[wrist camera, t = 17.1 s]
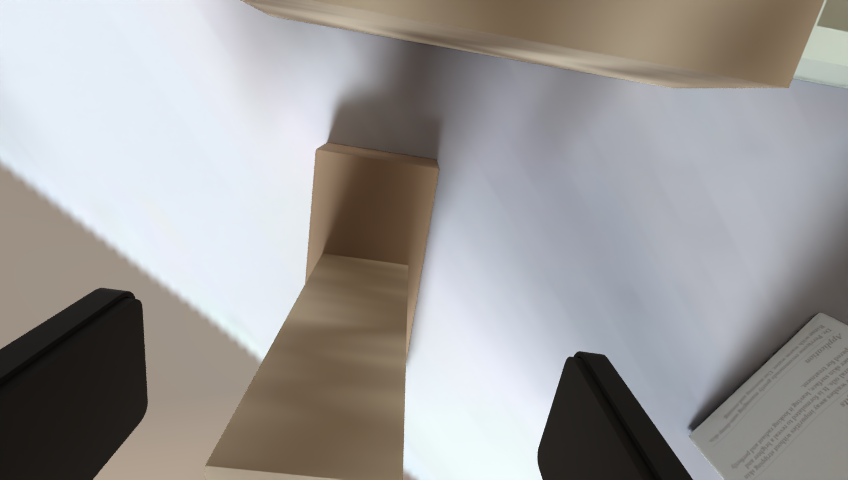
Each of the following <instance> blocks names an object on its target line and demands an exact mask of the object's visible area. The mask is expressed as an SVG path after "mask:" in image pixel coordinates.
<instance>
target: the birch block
mask: <svg viewBox="0 0 848 480" xmlns="http://www.w3.org/2000/svg"><path fill="white" fill-rule="evenodd" d="M241 1H243V2H245V3H247V4H249V5H251V6H253V7H255V8H256V9H258V10H260V11H262V12H264V13H266V14H268V15H270V16H273V17H279V18H284V19H290V20H296V21H301V22H307V23H312V24H318V25H323V26H329V27H335V28H340V29H346V30H351V31H357V32H362V33H368V34H374V35H379V36H385V37H390V38H396V39H401V40H407V41H413V42H418V43H424V44H429V45H435V46H441V47H446V48H452V49H457V50H463V51H468V52H474V53H480V54H485V55H491V56H496V57H502V58H507V59H513V60H519V61H524V62H530V63H535V64H541V65H546V66H552V67H558V68H563V69H569V70H574V71H580V72H585V73H591V74H597V75H602V76H608V77H613V78H619V79H624V80H630V81H636V82H641V83H647V84H652V85H658V86H663V87H669V88H789V86H790V83H791V81H792V78H793V76H794V74H795V71H796V69H797V66H798V64H799V61H800V59H801V56H802V54H803V51H804V49H805V47H806V44H807V42H808V39H809V37H810V34H811V32H812V29H813V27H814V24H815V22H816V20H817V17H818V15H819V12H820V10H821V7H822V5H823V2H824V0H241Z"/></svg>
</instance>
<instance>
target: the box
mask: <svg viewBox="0 0 848 480" xmlns="http://www.w3.org/2000/svg"><path fill="white" fill-rule="evenodd" d="M793 79H799V80H804V81H810V82H815V83H820V84H826V85H831V86H837V87H842V88H847V89H848V0H824V2H823V5H822V7H821V10H820V12H819V15H818V17H817V20H816V22H815V24H814V27H813V29H812V32H811V34H810V37H809V39H808V42H807V44H806V47H805V49H804V51H803V54H802V56H801V59H800V61H799V64H798V66H797V69H796V71H795V74H794V76H793Z"/></svg>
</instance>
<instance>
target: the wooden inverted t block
mask: <svg viewBox="0 0 848 480" xmlns="http://www.w3.org/2000/svg"><path fill="white" fill-rule="evenodd" d="M438 174H439V167H438V163H437V160H435V159H428V158H422V157H416V156H409V155H403V154H397V153H390V152H384V151H378V150H371V149H365V148H359V147H352V146H346V145H340V144H333V143H326V144H324V145H322V146H321V147H319V148H318V149H316V154H315V166H314V179H313V192H312V204H311V217H310V229H309V242H308V255H307V267H306V280H305V286H304V287H303V289H302V291H301V293H300V295H299V297H298V298H297V300H296V302H295V304H294V306H293V307H292V309H291V311H290V313H289V315H288V316H287V318H286V320H285V322H284V324H283V326H282V327H281V329H280V331H279V333H278V335H277V336H276V338H275V340H274V342H273V344H272V345H271V347H270V349H269V351H268V353H267V355H266V356H265V358H264V360H263V362H262V364H261V365H260V367H259V369H258V371H257V373H256V375H255V376H254V378H253V380H252V382H251V384H250V385H249V387H248V389H247V391H246V393H245V395H244V396H243V398H242V400H241V402H240V404H239V405H238V407H237V409H236V411H235V413H234V414H233V416H232V418H231V420H230V422H229V423H228V425H227V427H226V429H225V431H224V433H223V434H222V436H221V438H220V440H219V442H218V443H217V445H216V447H215V449H214V451H213V453H212V454H211V456H210V458H209V460H208V462H207V464H206V465H205V480H403V449H404V411H405V372H406V360H407V354H408V348H409V342H410V336H411V331H412V325H413V319H414V313H415V307H416V301H417V296H418V290H419V284H420V278H421V272H422V267H423V261H424V255H425V249H426V243H427V237H428V232H429V226H430V220H431V214H432V208H433V203H434V197H435V191H436V185H437V179H438Z"/></svg>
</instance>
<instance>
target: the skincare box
mask: <svg viewBox="0 0 848 480" xmlns="http://www.w3.org/2000/svg"><path fill="white" fill-rule="evenodd" d="M689 438H690V440H691V441H692V442H693V444H694V445H695V446H696V448H697V449H698V450H699V451H700V452H701V454H702V455H703V456H704V457H705V458H706V460H707V461H708V462H709V463H710V464H711V465H712V467H713V468H714V469H715V470H716V471H717V473H718V474H719V475H720V476H721V477H722V479H723V480H848V325H846V324H844V323H842V322H840V321H838V320H836V319H834V318H832V317H830V316H828V315H826V314H824V313H818V314H817V315H816V316H814V317H813V318H812V319H811V320H810V321H809V322H808V323H807V324H806V325H805V326H804V327H803V328H802V329H801V330H800V331H799V332H798V333H797V334H796V335H795V336H794V337H793V338H792V339H791V340H790V341H789V342H787V343H786V344H785V345H784V346H783V347H782V348H781V349H780V350H779V351H778V352H777V353H776V354H775V355H774V356H773V357H772V358H770V359H769V360H768V361H767V362H766V363H765V364H764V365H763V366H762V367H761V368H760V369H759V370H758V371H757V372H756V373H755V374H754V375H752V376H751V377H750V378H749V379H748V380H747V381H746V382H745V383H744V384H743V385H742V386H741V387H740V388H739V389H738V390H737V391H736V392H734V393H733V394H732V395H731V396H730V397H729V398H728V399H727V400H726V401H725V402H724V403H723V404H722V405H721V406H720V407H718V408H717V409H716V410H715V411H714V412H713V413H712V414H711V415H710V416H709V417H708V418H707V419H706V420H705V421H704V422H703V423H702V424H701V425H700V426H698V427H697V428H696V429H695V430H694V431H693V432H692V433H691V434H690V435H689Z"/></svg>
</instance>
